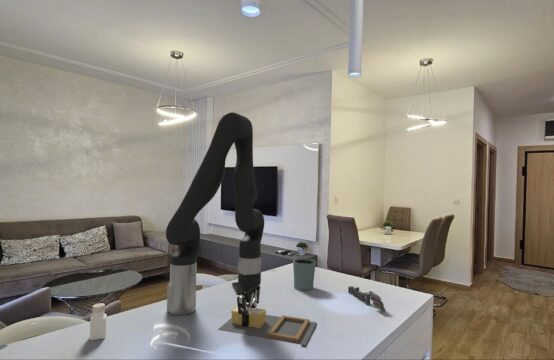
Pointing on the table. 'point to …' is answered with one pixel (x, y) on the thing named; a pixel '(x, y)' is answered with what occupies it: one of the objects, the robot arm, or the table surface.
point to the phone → (237, 288)
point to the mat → (277, 329)
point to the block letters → (367, 297)
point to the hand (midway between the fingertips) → (248, 321)
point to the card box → (250, 317)
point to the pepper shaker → (98, 322)
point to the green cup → (304, 274)
